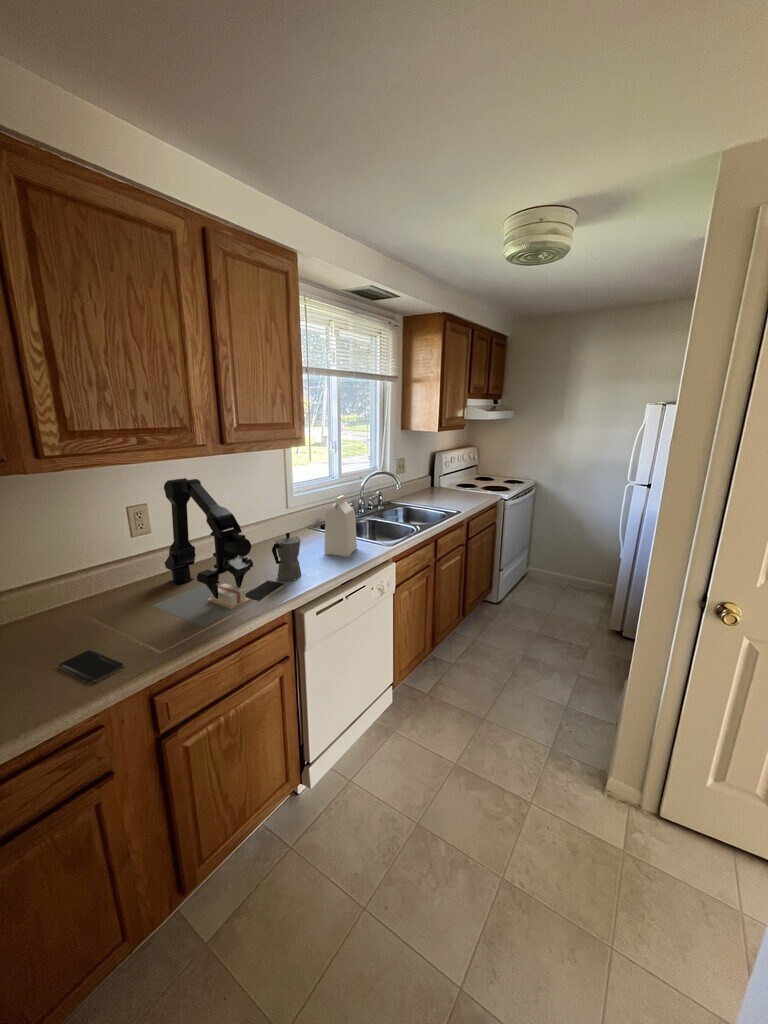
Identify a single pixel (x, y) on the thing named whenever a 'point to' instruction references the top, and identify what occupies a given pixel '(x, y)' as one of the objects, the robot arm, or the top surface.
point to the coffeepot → (287, 557)
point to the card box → (229, 594)
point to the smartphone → (264, 590)
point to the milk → (340, 529)
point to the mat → (199, 606)
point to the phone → (90, 666)
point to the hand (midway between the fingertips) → (228, 593)
